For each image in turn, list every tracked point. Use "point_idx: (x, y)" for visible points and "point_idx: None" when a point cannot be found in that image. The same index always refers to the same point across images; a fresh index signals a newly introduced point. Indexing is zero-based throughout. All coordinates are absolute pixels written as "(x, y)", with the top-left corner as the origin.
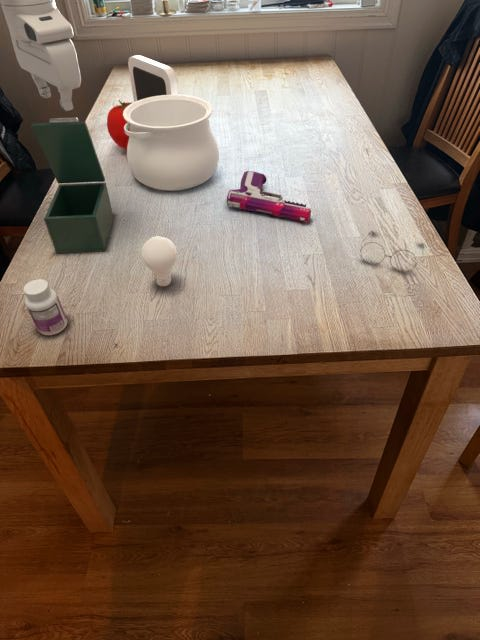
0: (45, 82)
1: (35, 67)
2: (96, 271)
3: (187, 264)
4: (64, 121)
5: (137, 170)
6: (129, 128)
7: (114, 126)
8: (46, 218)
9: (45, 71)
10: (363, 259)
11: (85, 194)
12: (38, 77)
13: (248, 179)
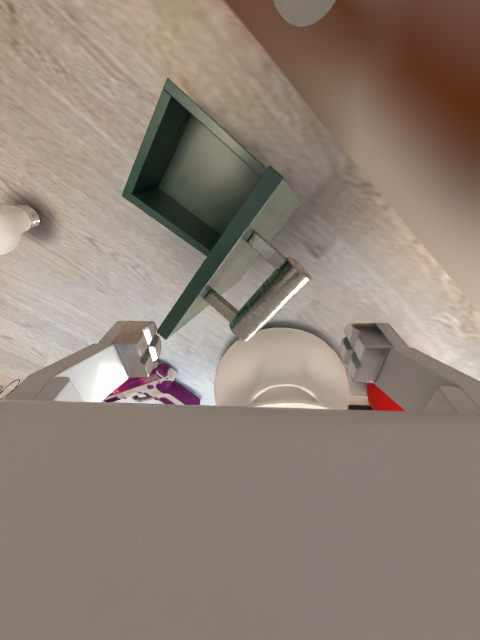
0: (393, 397)
1: (292, 502)
2: (103, 142)
3: (71, 264)
4: (254, 302)
5: (276, 337)
6: (383, 393)
7: None
8: (165, 86)
9: (2, 505)
10: (19, 380)
11: None
12: (426, 406)
13: (177, 402)
